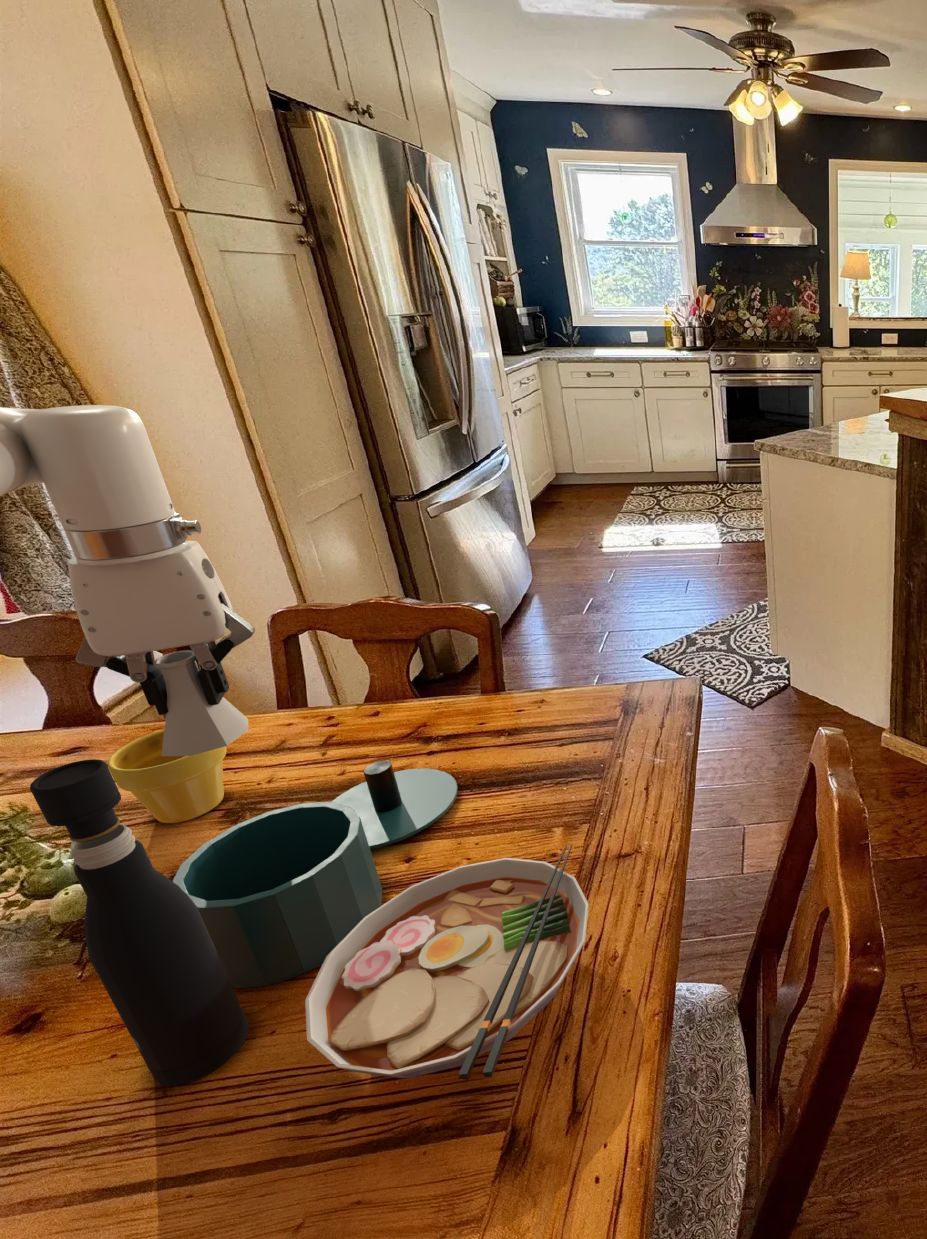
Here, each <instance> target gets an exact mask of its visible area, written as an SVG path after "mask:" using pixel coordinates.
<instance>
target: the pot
mask: <svg viewBox="0 0 927 1239" xmlns="http://www.w3.org/2000/svg"><path fill="white" fill-rule="evenodd" d="M171 881H172V882H174V883H175V884H177V885H178V886H179V887H180V888H181V889H182V890H183V891H184V892H185V893H186V894H187V895H188V896H189V897H190V899H191V900H192V901H193V902H194V903H195V905H196V906H197V908H198V911H199V913H200V915H201V917H202V920H203V922H204V924H205V926H206V929H207V931H208V933H209V935H210V938H211V940H212V942H213V944H214V947H215V949H216V951H217V953H218V956H219V958H220V960H221V962H222V964H223V967H224V969H225V971H226V973H227V976H228V978H229V980H230V982H231V985H232V987H233V988H237V989H253V988H262V987H265V986H270V985H275V984H278V983H279V984H280V983H282V982H285V981H288V980H291V979H293V978H296V977H299V976H301V975H304V974H306V973H308V972H310V971H312V970H314V969H316V968H318V967H320V966H322V964H323V962H324V960H325V958H326V956H327V955H328V954H329V953H330V952H331V951H332V950H333V949H334V948H335V947H336V946H337V945H338V944H339V943H340V942H341V941H342V940H343V939H344V938H345V937H346V936H347V935H348V934H349V933H350V932H351V931H352V930H353V929H354V928H355V927H356V926H357V925H358V924H359V922H360V921H361V920H362V919H363V918H364V917H366V916H367V915H369V914H370V913H372V912H373V911H375V910H376V909H378V908H379V907H381V906H382V902H383V886H382V883H381V879H380V877H379V873H378V870H377V866H376V863H375V860H374V858H373V854H372V851H371V849H370V847H369V844H368V841H367V838H366V835H365V832H364V828H363V825H362V822H361V819H360V817H359V816H358V815H357V814H356V812H355V811H354V810H353V809H352V807H349V806H346V805H342V804H338V803H334V802H332V801H314V802H302V803H301V802H300V803H298V804H293V805H289V806H286V807H285V806H284V807H280V808H277V809H273V810H269V811H266V812H264V813H261V814H259V815H256V816H254V817H251V818H249V819H246V820H244V821H242V822H239V823H238V824H235V825H233V826H231V827H229V828H228V829H226V830H224V831H222V832H220V834H217V835H216V836H214V837H213V838H211V839H209V840H207V841H206V842H204V843H203V844H202V845H201V846H199V848H197V849H196V850H195V851H194V852H192V854H191V855H190V856H188V857H187V858H186V859H185V860H184V861H183V862H182V863H181V864H180V865H179V867H178V869H177V871H176V873H175V875H174V877H173V878H172V880H171Z"/></svg>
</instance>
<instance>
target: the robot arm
mask: <svg viewBox="0 0 927 1239" xmlns="http://www.w3.org/2000/svg"><path fill="white" fill-rule="evenodd" d="M39 484H44V486H45V488H46V492H47V493H48V495H49V498H50V501H51V503H52V505H53V508H54V510H55V512H56V515H57V517H58V519H59V522H60V525H61V527H62V528H63V531H64V534H65V535H66V538H67V540H68V542H69V545H70V547H71V550H72V553H73V556H72V557H71V558H70V559H69V560H68V562H67V563H68V564H67V565H68V577H69V583H70V588H71V595H72V600H73V604H74V607H75V611H76V615H77V618H78V621H79V624H80V626H81V630H82V632H83V635H84V637H83V639H82V641H81V644H80V647H79V649H78V652H77V654H76V657H75V661H76V662H77V663H78V664H81V665H87V666H91V667H92V666H94V667H97V668H98V667H99V668H107V669H108V670H110V671H113V672H116V673H118V674H120V675H123V676H127V677H129V678H130V680H131V681H132V682H134V683H139V685H140V687H141V689H142V692H143V694H144V696H145V699H146V702H147V704H148V705H149V706H150V707H152V706H155V709H156V711H157V714H158V715H159V716H164V715H166V714H167V712H168V707H167V691H166V683H165V679H164V676H163V674H162V671H161V670H160V669H157V668H156V667H155V665H154V664H155V660H156V659H155V654H154V653H155V652H156V651H162V650H170V649H175V648H181V647H189V648H190V650H191V651H193V653H194V655H195V656H196V660H197V661H198V664H199V665H198V667H199V670H200V671H199V672H198V678H199V680H200V683H201V685H202V688H203V691H204V693H205V696H206V698H207V701H208V704H209V705H210V704H211V705H217V704H219V703H220V701H221V699H222V698H223V697H224V696H225V694H226V693H228V692H229V689H230V684H229V681H228V678H227V676H226V673H225V670H224V667H223V664H222V661H223V660H224V659H225V658H226V656H228V654H229V653H230V652H231V651H232V650H233V649H235V648H236V647H237V646H239V645H241V644H242V643H244V642H246V641H248V639H250V638H251V637H253V635H254V634H255V632H256V628H255V627H254V626H253V625H252V624H251V623H249V622H248V621H247V620H246V619H244V618H243V617H242V616H240V615H239V614H238V613H237V612H235V611H234V608H233V605H232V603H231V600H230V598H229V595H228V594H227V591H226V589H225V586H224V585H223V583H222V581H221V579H220V577H219V575H218V572H217V571H216V569H215V567H214V565H213V563H212V561H211V560H210V558H209V557H208V554H207V553H206V551H205V550H204V548H203V546H201V545H200V543H199V541H196V540H187V539H188V537H191V536H192V535H197V534H198V535H199V534H201V533H202V527H201V523H200V521H199V520H197V519H195V520H193V519H192V520H189V519H183V518H182V517H181V516H180V513H179V512H176V510H175V507H174V505H173V501H172V499H171V496H170V493H169V491H168V488H167V485H166V482H165V479H164V477H163V474H162V470H161V468H160V466H159V462H158V460H157V457H156V455H155V451H154V449H153V446H152V443H151V440H150V438H149V435H148V432H147V428H146V427H145V424H144V423H143V420H142V419H141V416H139V414H137V413H136V412H135V411H134V410H132V409H129V408H127V407H124V406H120V405H109V404H82V405H66V406H56V407H49V408H43V409H41V408H38V409H37V408H19V407H18V408H17V407H4V406H3V407H2V406H0V497H2V496H4V495H6V494H8V493H12V492H14V491H17V490H20V489H23V488H26V487H28V486H29V487H30V486H32V485H39ZM227 630H229V631H230V632H229V633H228V634H227ZM226 634H227V635H226ZM219 639H220V640H219ZM217 640H219V641H217Z"/></svg>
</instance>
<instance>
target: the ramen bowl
mask: <svg viewBox="0 0 927 1239" xmlns="http://www.w3.org/2000/svg"><path fill="white" fill-rule="evenodd" d="M567 847H568V844H566V845H565V846H564V849H563V850H562V852H561V855H560V856H559V859H558V861H557V863H556V865H553V864H551V863H549V862H547V861H543V860H533V859H522V858H514V857H504V858H498V859H492V860H488V861H481V862H475V863H471V864H463V865H459V866H457V867H455V868H452V869H450V870H447V871H445V872H442V873H440V874H438V875H435V876H433V877H430V878H427V879H425V880H423V881H420V882H417V883H415V884H412V885H411V886H409V887H407V888H406V889H405V890H403V891H402V892H400V893H399V894H397V895H396V896H394V897H393V898H391V899H390V900H388V901H387V902H385V903H384V904H381V907H379V908H378V909H376V910H375V911H373V912H372V913H370V914H369V915H367V916H366V917H364V918H363V919H362V920H361V921H360V922H359V924H358V925H357V926H356V927H355V928H354V929H353V930H352V931H351V932H350V933H349V934H348V935H347V936H346V937H345V938H344V939H343V940H342V941H341V942H340V943H339V944H338V945H337V946H336V947H335V948H334V949H333V950H332V951H331V952H330V953H329V954H328V955H327V956H326V958H325V960H324V962H323V964H322V965H320V966H321V967H320V968H319V971H318V973H317V975H316V977H315V978H314V981H313V983H312V985H311V987H310V989H309V991H308V994H307V995H306V998H305V1000H304V1005H305V1006H304V1007H305V1025H306V1027H305V1028H306V1041H307V1042H308V1043H309V1044H311V1045H312V1047H314V1048H315V1049H317V1051H318V1052H320V1053H321V1054H322V1056H324V1057H325V1058H326V1059H327V1060H329V1061H330V1062H331V1063H332V1064H333V1065H334V1066H336V1067H337V1068H339V1069H342V1070H346V1071H348V1072H353V1073H360V1074H368V1075H373V1076H381V1077H389V1078H395V1079H413V1078H417V1077H420V1076H425V1075H429V1074H433V1073H436V1072H441V1071H444V1070H449V1069H452V1068H456V1067H460V1066H461V1067H460V1070H459V1072H458V1074H457V1075H458V1079H459V1081H463V1080H466V1081H467V1080H469V1078H470V1076H471V1074H472V1071H473V1069H474V1067H475V1064H476V1063H477V1059H478V1058H479V1057H481V1056H483V1055H484V1054H486V1053H488V1052H490V1053H489V1055H488V1057H487V1061H486V1063H485V1065H484V1067H483V1069H482V1070H483V1071H482V1076H483V1079H489V1078H493V1077H494V1074H495V1071H496V1068H497V1065H498V1062H499V1059H500V1057H501V1053H502V1051H503V1047H504V1045H505V1043H506V1042H508V1041H510V1040H511V1039H513V1038H514V1037H515V1036H516V1035H517V1033H519V1032H520V1031H521V1030H522V1029H523V1028H524V1027H525V1026H526V1025H527V1024H528V1023H529V1022H530V1021H531V1020H533V1018H534V1017H535V1016H537V1015H538V1014H539V1013H540V1012H541V1011H542V1010H543V1009H544V1008H545V1007H546V1006H547V1005H548V1004H549V1003H550V1002H551V1001H552V1000H553V998H554V996H555V995H556V994H557V992H558V990H559V989H560V987H561V986H562V984H563V982H564V981H565V979H566V977H567V976H568V974H569V972H570V970H571V969H572V967H573V965H574V964H575V962H576V960H577V959H578V957H579V955H580V954H581V951H582V949H583V947H584V944H585V942H586V939H587V938H586V937H587V928H588V918H589V917H588V916H589V905H590V904H589V902H588V900H587V898H586V896H585V894H584V892H583V890H582V888H581V887H580V885H579V884H580V883H578V881H577V878H576V877H575V876H574V875H571V874H570V873H568V872H566V871H565V868H566V865H567V863H568V860H569V857H570V854H571V851H572V849H573V844H570V846H569V848H568V851H567ZM566 851H567V854H566V857H565V859H564V861H563V864H562V867H561V869H560V868H559V867H560V864H561V862H562V859H563V857H564V855H565V852H566Z"/></svg>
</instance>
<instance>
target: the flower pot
mask: <svg viewBox="0 0 927 1239" xmlns="http://www.w3.org/2000/svg"><path fill="white" fill-rule="evenodd" d="M164 729H165V728H163V729H159V730H157V731H153V732H151V733H147V734H145V735H143V736H141V737H139V738H136V739H134V740H132V741H130V742H128V743H127V744H125V745H123V746H121V747H120V748H119V749H117V750H116V751H115V752H114V753H113V754H112V755H111V756H110V757H109V759H108V762H107V766H108V768H109V771H110V773H111V775H112V777H113V779H114V781H115V784H116V786H117V787H118V788H120V790H123V791H125V792H130V793H131V794H132V795H133V796H134V797H135V798H136V799H137V801H139V802H140V804H142V806H144V808H145V809H146V810H147V811H148V812H149V813H150V814H151V815H152V816H153V817H154V818H155V820H156V821H158V822H160V823H161V824H178V823H183V822H186V821H190V820H194V819H196V818H198V817H200V816H202V815H205V814H207V813H208V812H211V811H212V810H213V809H214V808H216V807H217V806H218V805H220V803H222V801H223V799H224V796H225V787H224V786H225V785H224V766H223V761H224V759H225V757H226V755H227V752H228V750H227V746H225V747H221V748H218V749H214V750H210V751H207V752H203V753H199V754H196V755H192V756H161V755H162V745H163V737H164Z"/></svg>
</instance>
